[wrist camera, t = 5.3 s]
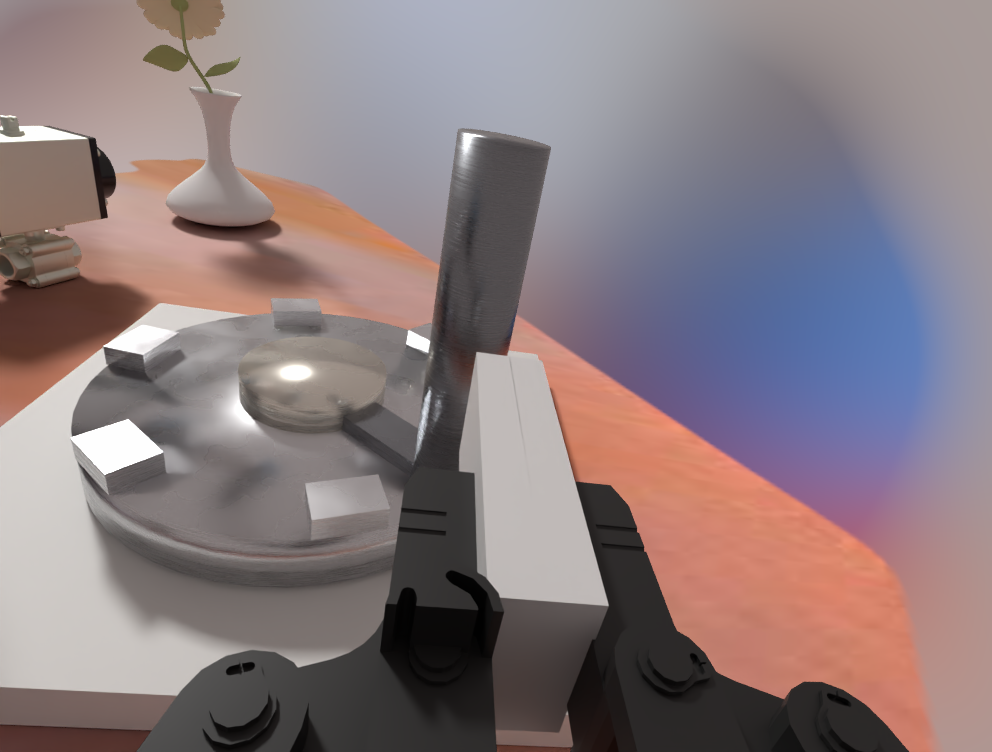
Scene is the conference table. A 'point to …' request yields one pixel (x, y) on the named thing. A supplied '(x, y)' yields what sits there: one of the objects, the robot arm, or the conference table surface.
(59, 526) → the base plate
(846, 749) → the robot arm
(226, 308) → the conference table surface
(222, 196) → the flower in vase
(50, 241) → the pneumatic valve
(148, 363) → the round disc with peg
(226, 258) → the conference table surface
